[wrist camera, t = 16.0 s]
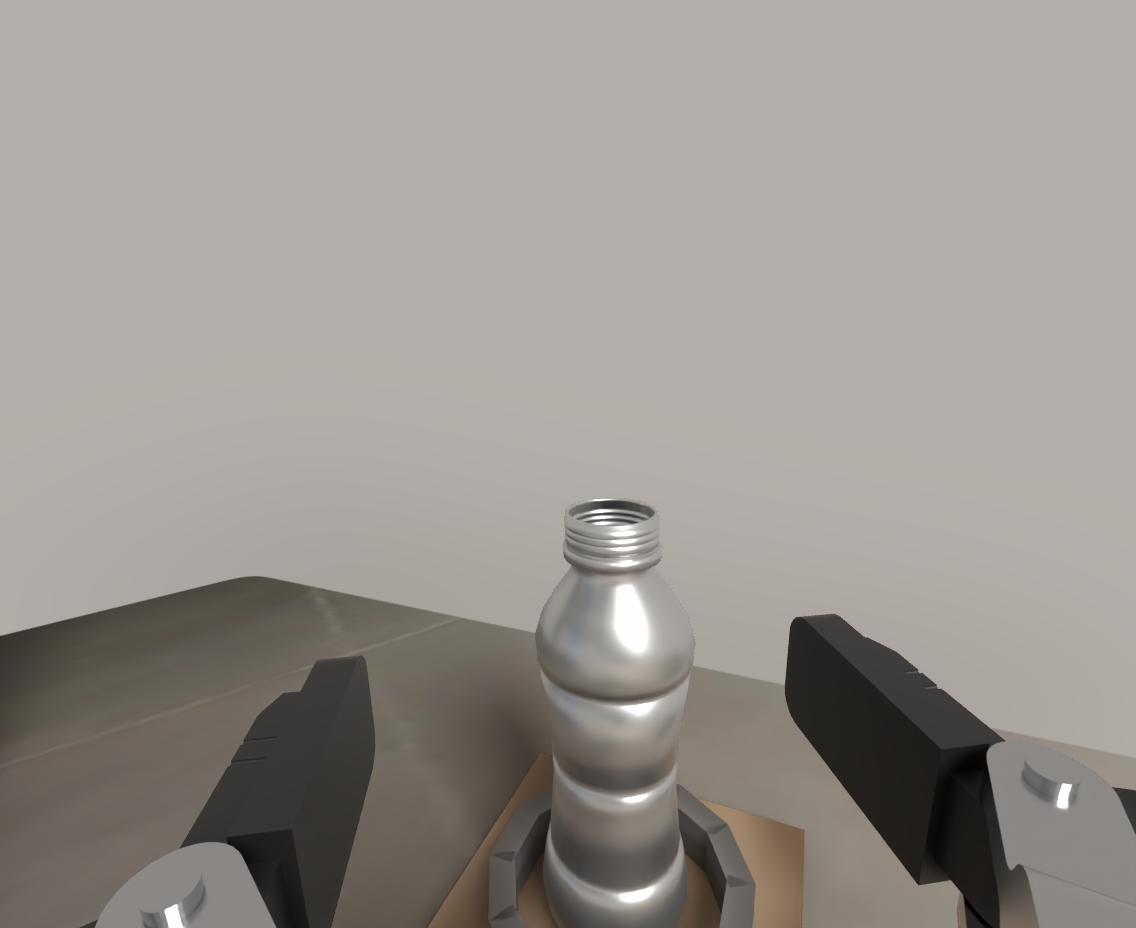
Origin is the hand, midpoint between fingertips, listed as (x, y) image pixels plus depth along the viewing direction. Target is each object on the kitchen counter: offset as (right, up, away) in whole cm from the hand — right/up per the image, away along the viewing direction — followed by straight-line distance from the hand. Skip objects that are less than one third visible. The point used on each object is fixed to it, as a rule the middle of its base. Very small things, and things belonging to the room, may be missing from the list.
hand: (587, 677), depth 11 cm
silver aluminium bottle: (+2, -17, +16) cm, 24 cm away
